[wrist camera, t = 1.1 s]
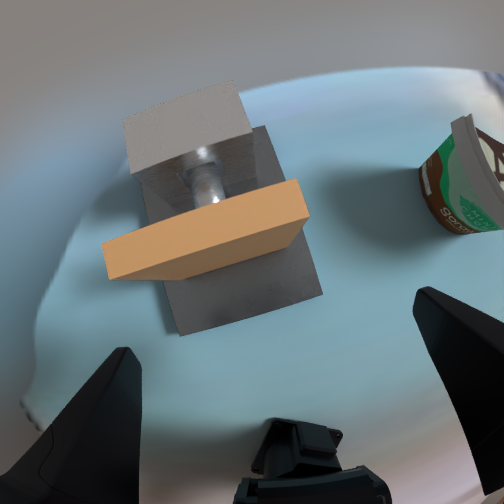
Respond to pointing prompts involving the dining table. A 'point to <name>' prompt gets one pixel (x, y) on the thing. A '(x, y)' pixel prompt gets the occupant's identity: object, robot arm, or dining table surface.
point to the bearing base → (234, 183)
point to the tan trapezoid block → (209, 231)
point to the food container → (466, 180)
